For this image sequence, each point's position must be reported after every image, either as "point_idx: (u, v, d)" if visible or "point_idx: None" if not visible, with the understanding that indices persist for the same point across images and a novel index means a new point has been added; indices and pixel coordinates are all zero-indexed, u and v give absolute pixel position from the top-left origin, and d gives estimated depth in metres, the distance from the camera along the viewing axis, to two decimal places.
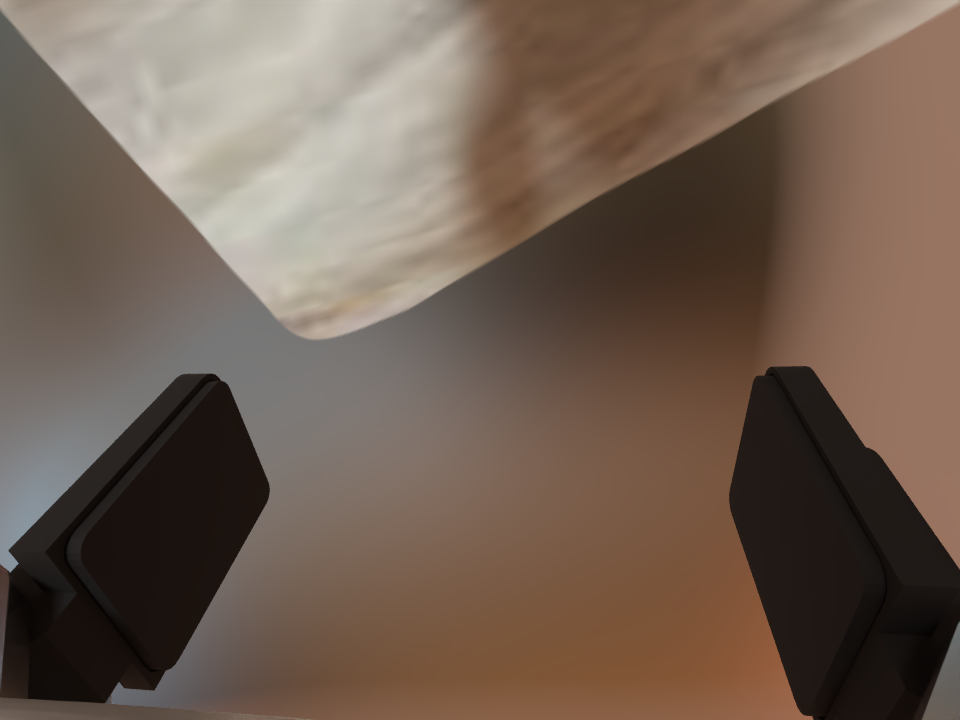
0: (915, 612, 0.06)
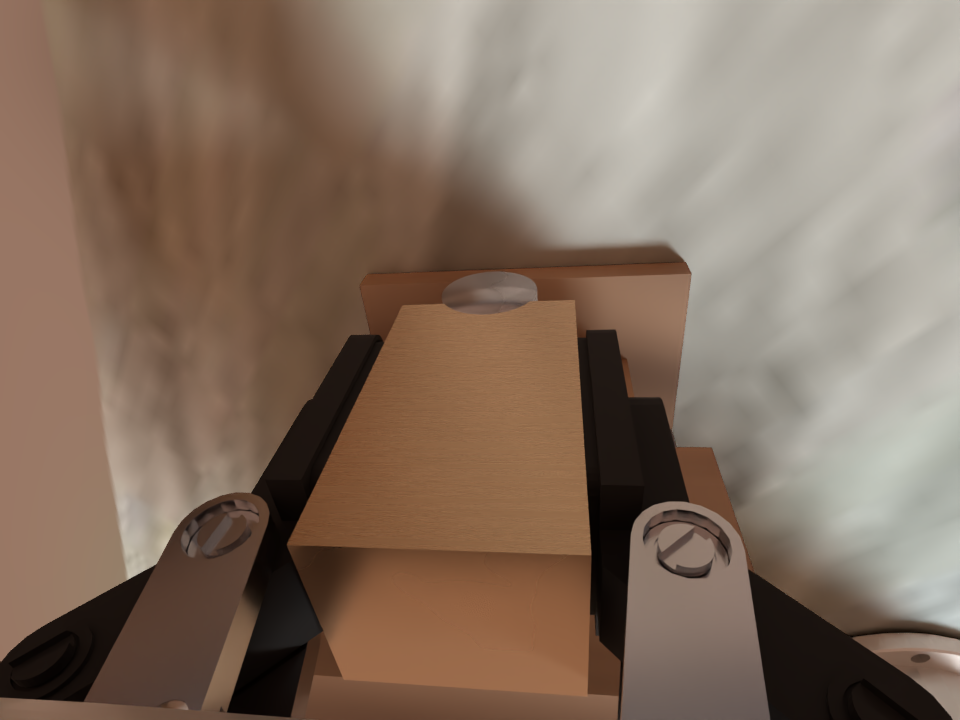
0: (619, 509, 0.07)
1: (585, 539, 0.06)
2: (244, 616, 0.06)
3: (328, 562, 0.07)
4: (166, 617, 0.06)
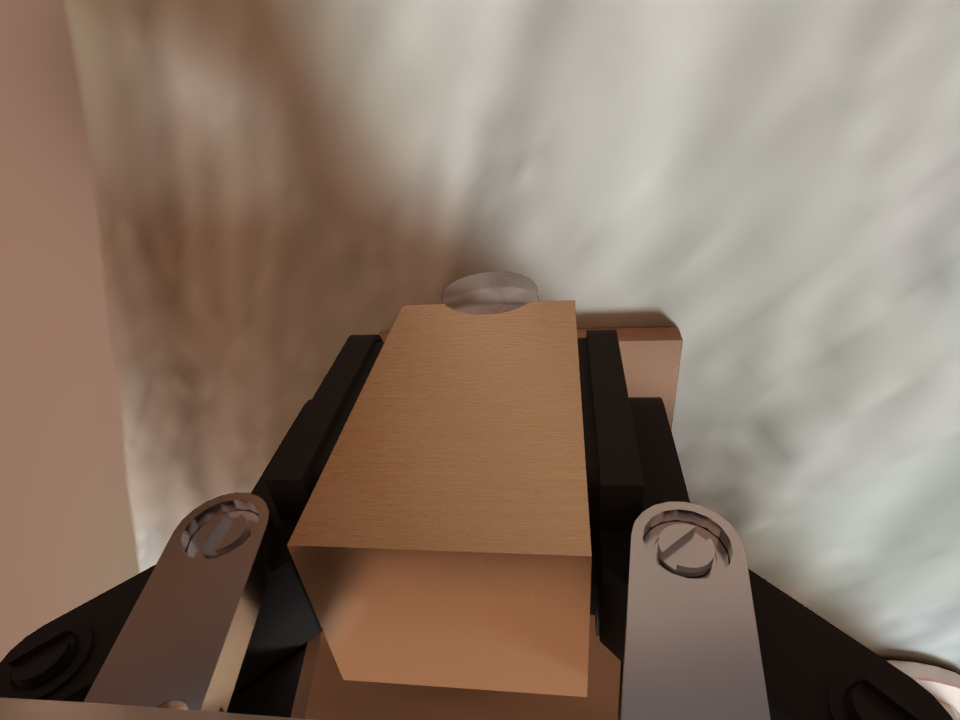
0: (620, 509, 0.07)
1: (585, 540, 0.06)
2: (243, 616, 0.06)
3: (328, 562, 0.07)
4: (166, 617, 0.06)
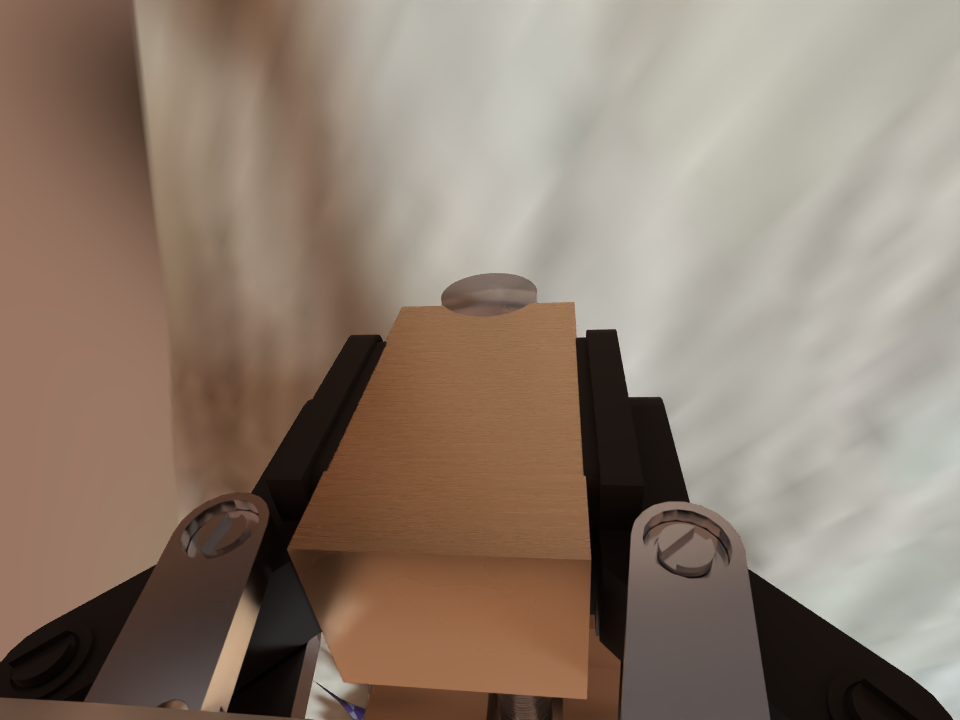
0: (620, 509, 0.07)
1: (585, 543, 0.06)
2: (243, 616, 0.06)
3: (328, 565, 0.07)
4: (166, 617, 0.06)
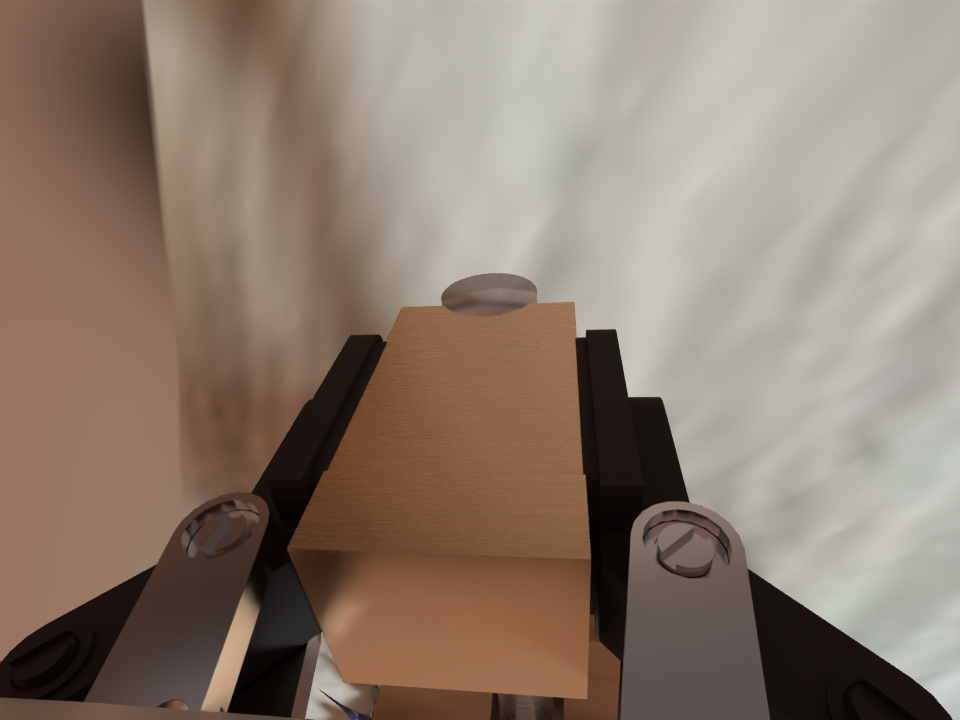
0: (619, 509, 0.07)
1: (585, 543, 0.06)
2: (244, 616, 0.06)
3: (327, 566, 0.07)
4: (166, 617, 0.06)
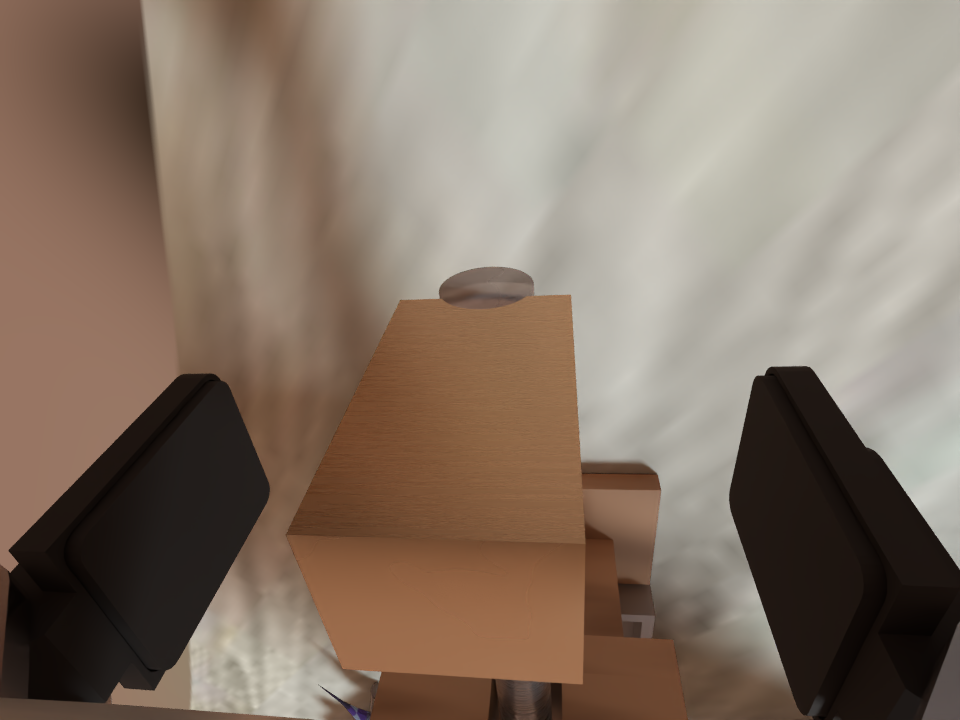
0: (915, 612, 0.06)
1: (580, 528, 0.06)
2: None
3: (326, 551, 0.07)
4: None
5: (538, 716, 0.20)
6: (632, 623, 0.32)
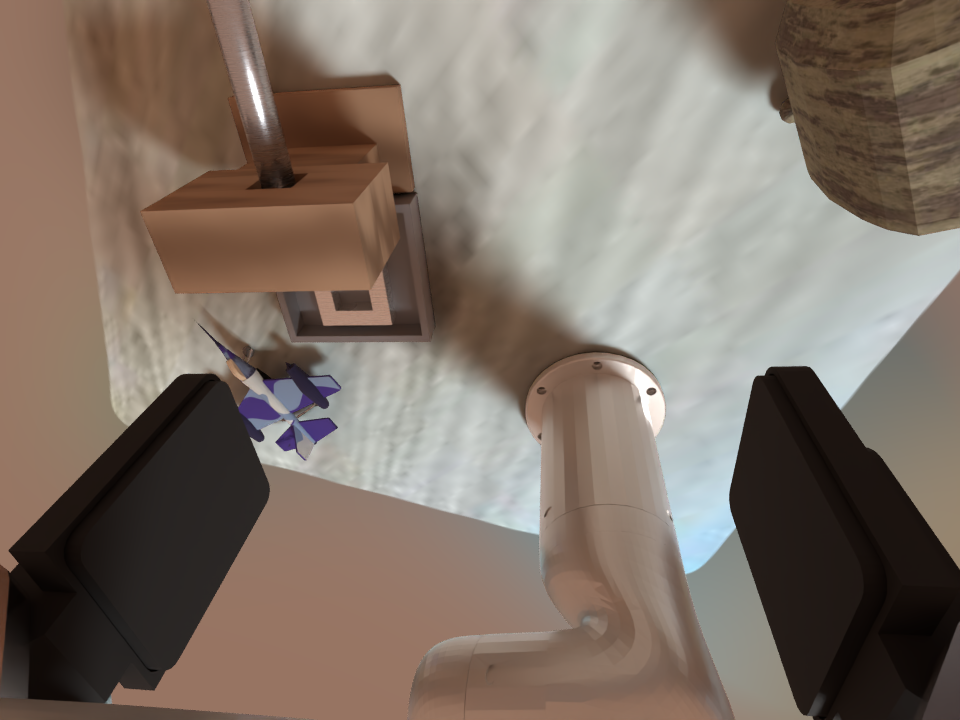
0: (915, 612, 0.06)
1: None
2: None
3: None
4: None
5: (275, 165, 0.32)
6: None
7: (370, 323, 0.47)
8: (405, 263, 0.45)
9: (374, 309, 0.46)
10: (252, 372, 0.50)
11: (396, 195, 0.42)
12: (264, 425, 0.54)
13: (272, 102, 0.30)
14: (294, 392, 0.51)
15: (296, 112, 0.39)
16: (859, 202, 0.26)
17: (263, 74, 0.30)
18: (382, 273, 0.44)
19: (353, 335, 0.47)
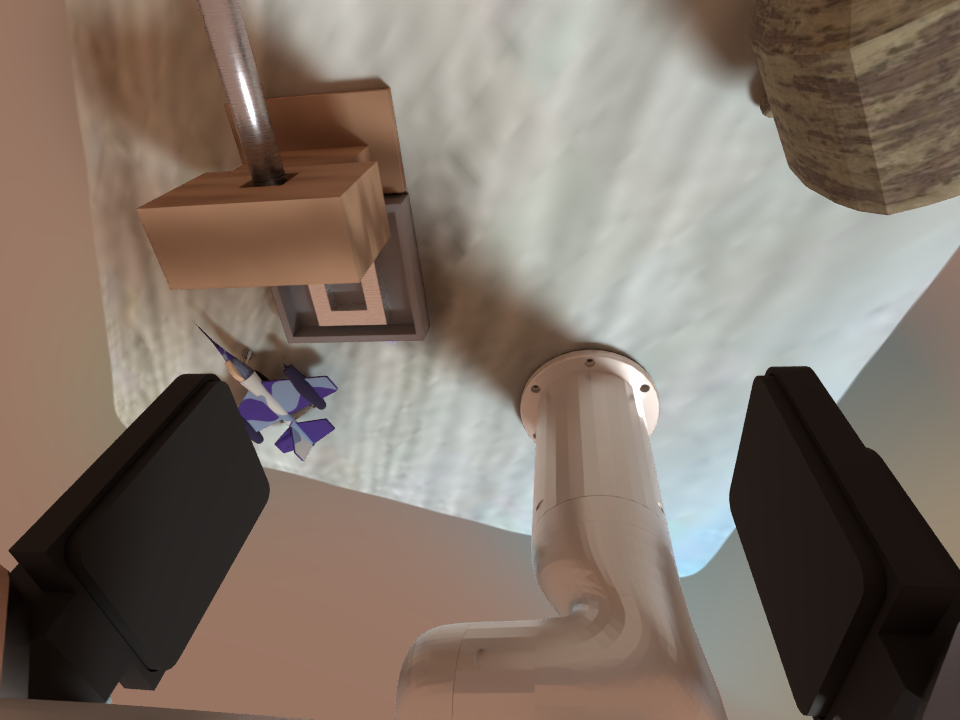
0: (915, 612, 0.06)
1: None
2: None
3: None
4: None
5: (267, 163, 0.33)
6: None
7: (365, 323, 0.47)
8: (398, 263, 0.46)
9: (368, 309, 0.47)
10: (250, 373, 0.51)
11: (388, 196, 0.43)
12: (263, 427, 0.55)
13: (263, 103, 0.32)
14: (292, 393, 0.52)
15: (289, 116, 0.40)
16: (832, 185, 0.26)
17: (254, 76, 0.31)
18: (376, 273, 0.45)
19: (348, 335, 0.48)
